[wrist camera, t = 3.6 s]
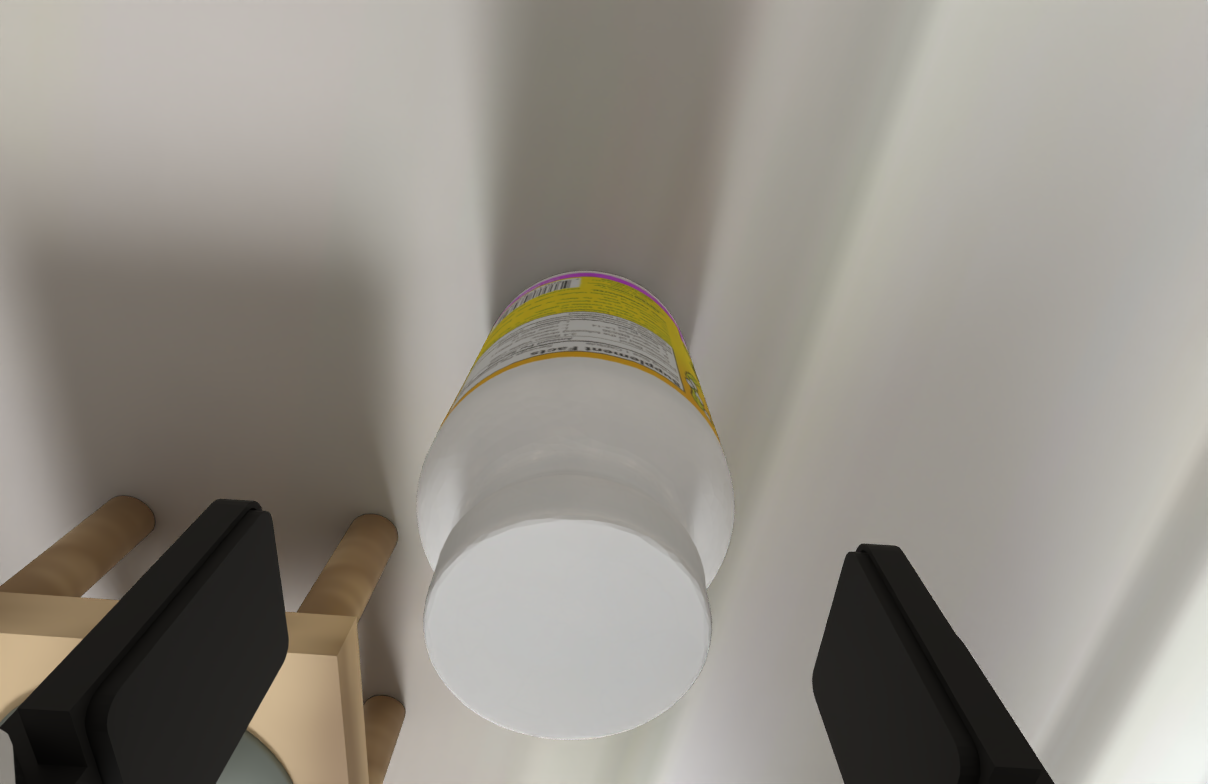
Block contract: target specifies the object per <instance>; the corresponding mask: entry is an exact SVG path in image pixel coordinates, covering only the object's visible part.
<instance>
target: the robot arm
mask: <svg viewBox="0 0 1208 784" xmlns="http://www.w3.org/2000/svg"><path fill="white" fill-rule="evenodd" d="M288 646H289V636H288V629H287V622H286V615H285V607H284V600H283V593H282V586H281V579H280V572H279V565H278V558H277V551H276V544H275V536H274V529H273V522H272V517H271V515H270V513H269V512H267V511H262V509H261V506H260V505H259V503H258V502H255V501H245V500H231V499H218V500H216V501H214V502H213V503H212V504H211V505H210V506H209V507H208V508H207V509H206V510H205V511H204V512H203V513H202V514H201V515H200V516H199V517H198V519H197V520H196V521H195V522H194V523H193V524H192V525H191V526H190V527H189V528H188V529H187V530H186V531H185V532H184V533H183V534H182V535H181V536H180V537H179V539H178V540H177V541H176V542H175V543H174V544H173V545H172V546H171V547H170V548H169V549H168V550H167V551H166V552H165V553H164V554H163V555H162V556H161V557H160V558H159V560H158V561H157V562H156V563H155V564H154V565H153V566H152V567H151V568H150V569H149V570H148V571H147V572H146V573H145V574H144V575H143V576H142V577H141V578H140V580H139V581H138V582H137V583H136V584H135V585H134V586H133V587H132V588H131V589H130V590H129V591H128V592H127V593H126V594H125V595H124V596H123V597H122V598H121V600H120V601H119V602H118V603H117V604H116V605H115V606H114V607H113V608H112V609H111V610H110V611H109V612H108V613H107V614H106V615H105V616H104V617H103V618H102V619H101V621H100V622H99V623H98V624H97V625H96V626H95V627H94V628H93V629H92V630H91V631H90V632H89V633H88V634H87V635H86V636H85V637H84V638H83V639H82V641H81V642H80V643H79V644H78V645H77V646H76V647H75V648H74V649H73V650H72V651H71V652H70V653H69V654H68V655H67V656H66V657H65V658H64V659H63V661H62V662H61V663H60V664H59V665H58V666H57V667H56V668H55V669H54V670H53V671H52V672H51V673H50V674H49V675H48V676H47V677H46V678H45V679H44V681H43V682H42V683H41V684H40V685H39V686H38V687H37V688H36V689H35V690H34V691H33V692H32V693H31V694H30V695H29V696H28V697H27V698H26V699H25V700H24V702H23V703H22V704H21V705H20V706H19V707H18V708H17V710H16V711H15V712H14V713H13V714H12V715H11V716H10V717H9V718H8V719H7V720H6V721H5V722H4V723H3V724H2V725H1V726H0V784H216V783H217V781H218V779H219V777H220V775H221V774H222V772H223V770H224V768H225V766H226V765H227V763H228V761H229V759H230V758H231V756H232V754H233V752H234V750H235V749H236V747H237V745H238V743H239V742H240V740H241V738H242V736H243V734H244V733H245V731H246V729H247V727H248V725H249V724H250V722H251V720H252V718H253V717H254V715H255V713H256V711H257V709H258V708H259V706H260V704H261V702H262V701H263V699H264V697H265V695H266V693H267V692H268V690H269V688H270V686H271V684H272V683H273V681H274V679H275V677H276V676H277V674H278V672H279V670H280V668H281V667H282V665H283V663H284V661H285V658H286V655H287V651H288ZM812 684H813V692H814V696H815V699H816V702H817V705H818V708H819V711H820V714H821V717H822V720H823V723H824V725H825V728H826V731H827V734H828V737H829V740H830V743H831V746H832V749H833V752H834V755H835V757H836V760H837V763H838V766H839V769H840V772H841V775H842V778H843V781H844V784H1054V782H1053V781H1052V779H1051V778H1050V776H1049V775H1048V773H1047V771H1046V770H1045V768H1044V767H1043V765H1042V764H1041V762H1040V761H1039V759H1038V757H1037V756H1036V754H1035V753H1034V751H1033V750H1032V748H1031V747H1030V745H1029V744H1028V742H1027V740H1026V739H1025V737H1024V736H1023V734H1022V733H1021V731H1020V730H1019V728H1018V727H1017V725H1016V723H1015V722H1014V720H1013V719H1012V717H1011V716H1010V714H1009V713H1008V711H1007V710H1006V708H1005V706H1004V705H1003V703H1002V702H1001V700H1000V699H999V697H998V696H997V694H996V693H995V691H994V689H993V688H992V686H991V685H990V683H989V682H988V680H987V679H986V677H985V676H984V674H983V672H982V671H981V669H980V668H979V666H978V665H977V663H976V662H975V660H974V659H973V657H972V655H971V654H970V652H969V651H968V649H967V648H966V646H965V645H964V643H963V642H962V641H961V640H960V638H959V637H958V636H957V635H956V634H955V632H954V631H953V629H952V628H951V626H950V624H949V623H948V621H947V620H946V618H945V617H944V615H943V614H942V612H941V610H940V609H939V607H938V606H937V604H936V603H935V601H934V600H933V598H932V596H931V595H930V593H929V592H928V590H927V589H926V587H925V586H924V584H923V582H922V581H921V579H920V578H919V576H918V575H917V573H916V572H915V570H914V568H913V567H912V565H911V564H910V562H909V561H908V559H907V558H906V556H905V554H904V553H903V551H902V550H901V549H900V548H899V547H897V546H891V545H876V544H861V545H859V547H858V548H857V550H856V552H848V554H847V555H846V557H845V560H844V563H843V567H842V570H841V574H840V578H839V581H838V585H837V588H836V592H835V595H834V599H833V603H832V606H831V610H830V613H829V617H828V621H827V624H826V628H825V631H824V635H823V638H822V642H821V646H820V649H819V653H818V656H817V660H816V663H815V667H814V671H813V678H812Z"/></svg>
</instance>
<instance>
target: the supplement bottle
mask: <svg viewBox="0 0 1208 784" xmlns="http://www.w3.org/2000/svg"><path fill="white" fill-rule="evenodd" d="M416 507H417V521H418V528H419V535H420V538H421V542H422V546H423V549H424V551H425V554H426V557H427V559H428V561H429V563H430V565H431V567H432V569H433V571H434V575H433V578H432V581H431V584H430V587H429V590H428V594H427V598H426V603H425V609H424V617H423V631H424V638H425V644H426V647H427V651H428V654H429V657H430V660H431V662H432V664H433V666H434V668H435V670H436V672H437V674H438V675H439V677H440V678H441V680H442V681H443V682H444V684H445V685H446V686H447V688H448V689H449V690H450V691H451V692H452V693H453V694H454V695H455V696H456V697H457V698H458V699H459V700H460V701H461V702H462V703H463V704H464V705H465V706H466V707H467V708H469V709H470V710H472V711H473V712H475V713H476V714H478V715H480V716H481V717H483V718H484V719H486V720H488V721H490V722H492V723H494V724H496V725H498V726H500V727H503V728H506V729H509V730H512V731H514V732H517V733H521V734H525V735H530V736H534V737H540V738H547V739H558V740H579V739H594V738H600V737H606V736H610V735H615V734H619V733H622V732H625V731H628V730H631V729H633V728H636V727H638V726H640V725H643V724H645V723H647V722H649V721H650V720H652V719H654V718H656V717H657V716H659V715H660V714H662V713H663V712H665V711H666V710H668V709H669V708H670V707H671V706H672V705H674V704H675V703H676V702H677V701H678V700H679V699H680V698H681V697H682V696H683V695H684V694H685V693H686V692H687V691H688V690H689V689H690V687H691V686H692V684H693V683H694V682H695V680H696V679H697V677H698V676H699V674H700V672H701V670H702V668H703V666H704V663H705V661H706V658H707V654H708V651H709V647H710V641H711V633H712V618H711V609H710V605H709V600H708V595H707V588H708V587H709V585H710V584H711V582H712V581H713V579H714V577H715V576H716V574H717V572H718V570H719V568H720V566H721V564H722V562H723V560H724V558H725V555H726V552H727V549H728V547H729V543H730V539H731V535H732V530H733V524H734V492H733V484H732V480H731V475H730V471H729V468H728V465H727V461H726V458H725V455H724V452H723V449H722V446H721V444H720V441H719V438H718V434H717V432H716V429H715V426H714V424H713V421H712V418H711V415H710V412H709V410H708V407H707V404H706V401H705V398H704V395H703V392H702V389H701V386H700V383H699V380H698V378H697V375H696V372H695V369H694V366H693V363H692V361H691V357H690V355H689V352H688V349H687V346H686V343H685V341H684V338H683V336H682V334H681V331H680V329H679V327H678V325H677V323H676V321H675V320H674V318H673V316H672V315H671V314H670V312H669V311H668V310H667V308H666V307H665V306H664V305H663V304H662V303H661V301H660V300H658V299H657V298H656V297H655V296H654V295H653V294H652V293H650V292H649V291H648V290H646V289H645V288H643V287H642V286H640V285H638V284H636V283H635V282H633V281H631V280H628V279H626V278H623V277H620V276H617V275H613V274H609V273H604V272H598V271H573V272H566V273H562V274H557V275H554V276H551V277H548V278H546V279H543V280H541V281H539V282H537V283H536V284H534V285H532V286H530V287H529V288H527V289H526V290H524V291H523V292H522V293H521V294H519V295H518V296H517V297H516V298H515V299H514V300H513V301H512V302H511V303H510V304H509V305H508V306H507V307H506V309H505V310H504V311H503V312H502V314H501V315H500V317H499V318H498V320H497V321H496V323H495V324H494V326H493V328H492V330H491V332H490V334H489V336H488V338H487V340H486V342H485V343H484V345H483V347H482V349H481V351H480V353H479V355H478V357H477V359H476V361H475V363H474V365H473V366H472V368H471V370H470V372H469V374H468V376H467V378H466V380H465V382H464V384H463V386H462V388H461V390H460V391H459V393H458V395H457V397H456V399H455V401H454V403H453V405H452V406H451V408H450V410H449V412H448V414H447V416H446V417H445V419H444V421H443V423H442V424H441V427H440V429H439V431H438V433H437V435H436V437H435V439H434V441H433V443H432V445H431V447H430V449H429V451H428V453H427V455H426V458H425V461H424V464H423V467H422V471H421V475H420V478H419V484H418V491H417V506H416Z"/></svg>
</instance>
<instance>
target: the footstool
mask: <svg viewBox="0 0 1208 784" xmlns="http://www.w3.org/2000/svg"><path fill="white" fill-rule="evenodd" d="M154 525H155V519H154V515H153V513H152V511H151V510H150V509H149V507H148V506H147V505H146V504H144V503H143V502H142V501H140V500H138V499H136V498H133V497H129V496H117V497H114V498H112V499H111V500H109V501H108V502H107V503H106V504H104V505H103V506H102V507H100V508H99V509H98V510H97V511H95V512H94V513H93V514H92V515H90V516H89V517H88V518H86V519H85V520H84V521H83V522H81V523H80V524H79V525H78V526H76V527H75V528H74V529H72V530H71V531H70V532H69V533H67V534H66V535H65V536H64V537H62V538H61V539H60V540H58V541H57V542H56V543H55V544H53V545H52V546H51V547H50V548H48V549H47V550H46V551H44V552H43V553H42V554H41V555H39V556H38V557H37V558H36V559H34V560H33V561H32V562H30V563H29V564H28V565H27V566H25V567H24V568H23V569H22V570H20V571H19V572H18V573H17V574H15V575H14V576H13V577H11V578H10V579H9V580H8V581H6V582H5V583H4V584H3V585H1V586H0V726H1V725H2V724H3V723H4V722H5V721H6V720H7V719H8V718H9V717H10V716H11V715H12V714H13V713H14V712H15V711H16V710H17V708H18V707H19V706H20V705H21V704H22V703H23V702H24V700H25V699H26V698H27V697H28V696H29V695H30V694H31V693H32V692H33V691H34V690H35V689H36V688H37V687H38V686H39V685H40V684H41V683H42V682H43V681H44V679H45V678H46V677H47V676H48V675H49V674H50V673H51V672H52V671H53V670H54V669H55V668H56V667H57V666H58V665H59V664H60V663H61V662H62V661H63V659H64V658H65V657H66V656H67V655H68V654H69V653H70V652H71V651H72V650H73V649H74V648H75V647H76V646H77V645H78V644H79V643H80V642H81V641H82V639H83V638H84V637H85V636H86V635H87V634H88V633H89V632H90V631H91V630H92V629H93V628H94V627H95V626H96V625H97V624H98V623H99V622H100V621H101V619H102V618H103V617H104V616H105V615H106V614H107V613H108V612H109V611H110V610H111V609H112V608H113V607H114V606H115V605H116V604H117V603H118V602H119V601H120V600H109V599H95V598H81V596H82V595H83V594H84V593H85V592H86V591H88V590H89V589H90V588H91V587H92V586H93V585H94V584H95V583H96V582H97V581H98V580H99V579H101V578H102V577H103V576H104V575H105V574H106V573H107V572H108V571H109V570H110V569H111V568H112V567H113V566H115V565H116V564H117V563H118V562H119V561H120V560H121V559H122V558H123V557H124V556H125V555H126V554H127V553H129V552H130V551H131V550H132V549H133V548H134V547H135V546H136V545H137V544H138V543H139V542H140V541H142V540H143V539H144V538H145V537H146V536H147V535H148V534H149V533H150V532H151V531H152V530H153V528H154ZM397 540H398V533H397V530H396V528H395V526H394V525H393V524H392V523H391V522H390V521H389V520H388V519H386V518H384V517H382V516H380V515H376V514H365V515H362V516H359V517H358V518H356V519H355V520H354V521H353V522H352V524H351V525H350V527H349V529H348V530H347V532H346V533H345V535H344V537H343V538H342V540H341V541H340V543H339V545H338V546H337V548H336V550H335V551H334V553H333V554H332V556H331V558H330V559H329V561H328V562H327V564H326V566H325V567H324V569H323V571H322V572H321V574H320V575H319V577H318V579H317V580H316V582H315V583H314V585H313V587H312V588H311V590H310V592H309V593H308V595H307V596H306V598H305V600H304V601H303V603H302V604H301V606H300V608H299V609H298V611H297V613H296V612H285V615H286V622H287V629H288V636H289V646H288V651H287V655H286V658H285V661H284V663H283V665H282V667H281V668H280V670H279V672H278V674H277V676H276V677H275V679H274V681H273V683H272V684H271V686H270V688H269V690H268V692H267V693H266V695H265V697H264V699H263V701H262V702H261V704H260V706H259V708H258V709H257V711H256V713H255V715H254V717H253V718H252V720H251V722H250V724H249V725H248V727H247V729H246V731H245V733H244V734H243V736H242V738H241V740H240V742H239V743H238V745H237V747H236V749H235V750H234V752H233V754H232V756H231V758H230V759H229V761H228V763H227V765H226V766H225V768H224V770H223V772H222V774H221V775H220V777H219V779H218V781H217V783H216V784H382V783H383V780H384V777H385V775H386V772H387V769H388V766H389V763H390V760H391V757H392V754H393V751H394V748H395V745H396V742H397V739H398V736H399V733H400V730H401V727H402V724H403V721H404V718H405V709H404V707H403V705H402V704H401V703H400V702H399V701H397V700H396V699H394V698H392V697H388V696H375V697H372V698H370V699H368V700H367V701H366V702H365V704H364V706H363V696H362V683H361V670H360V656H359V643H358V630H357V623H358V621H359V619H360V617H361V615H362V613H363V611H364V609H365V607H366V605H367V603H368V601H369V599H370V597H371V595H372V593H373V591H374V589H375V587H376V585H377V582H378V580H379V578H380V576H381V574H382V572H383V570H384V568H385V566H386V564H387V562H388V560H389V558H390V556H391V554H392V552H393V550H394V548H395V546H396V543H397Z"/></svg>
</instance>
